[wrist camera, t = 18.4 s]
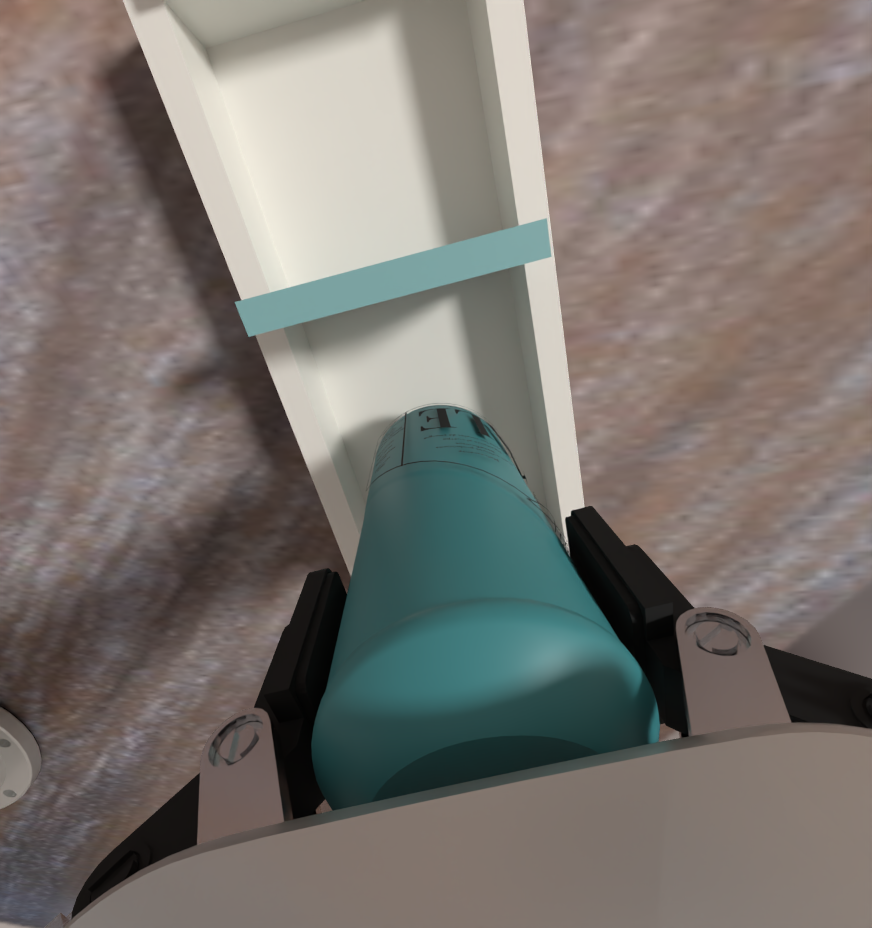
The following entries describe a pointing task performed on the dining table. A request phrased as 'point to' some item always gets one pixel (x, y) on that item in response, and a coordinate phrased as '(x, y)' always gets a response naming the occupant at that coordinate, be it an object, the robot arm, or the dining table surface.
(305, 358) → the white divided tray
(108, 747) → the dining table surface
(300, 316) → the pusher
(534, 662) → the beverage bottle
